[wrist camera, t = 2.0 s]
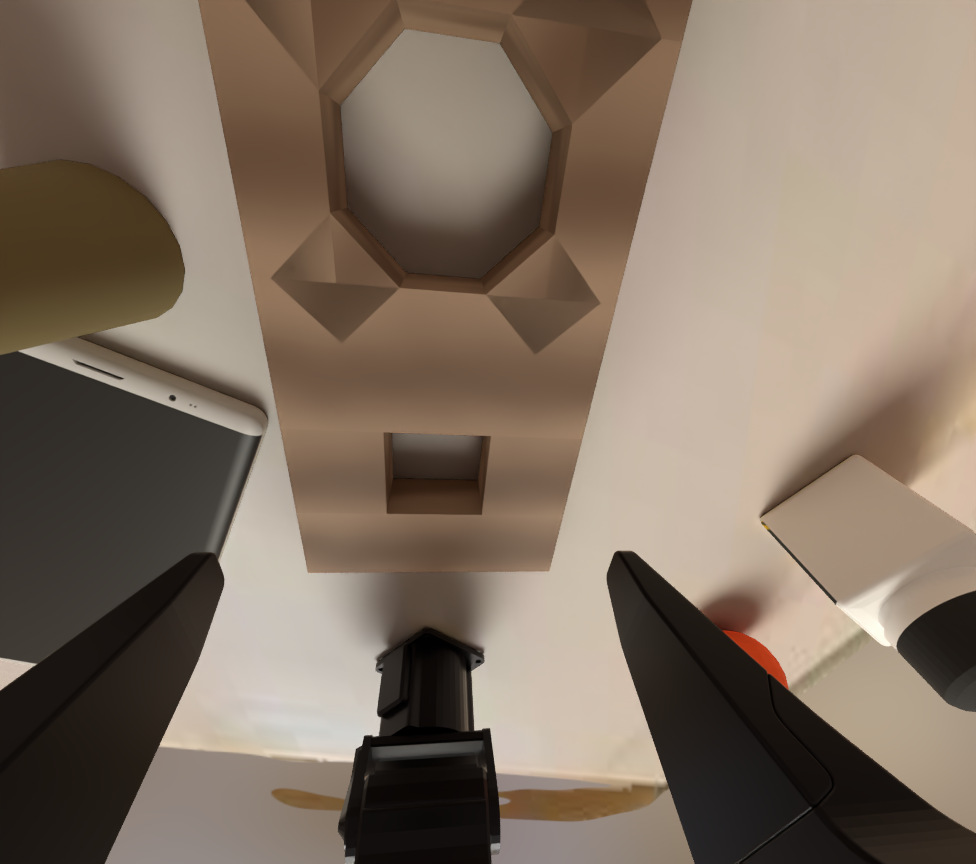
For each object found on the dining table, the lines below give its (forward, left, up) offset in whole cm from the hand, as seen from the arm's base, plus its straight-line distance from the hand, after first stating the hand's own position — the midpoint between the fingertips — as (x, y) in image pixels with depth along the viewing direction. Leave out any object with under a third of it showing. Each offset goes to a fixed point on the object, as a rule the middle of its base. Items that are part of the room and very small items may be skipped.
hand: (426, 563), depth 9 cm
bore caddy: (+1, -1, -13) cm, 13 cm away
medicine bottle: (-27, -10, -13) cm, 32 cm away
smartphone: (+7, +23, -14) cm, 28 cm away
